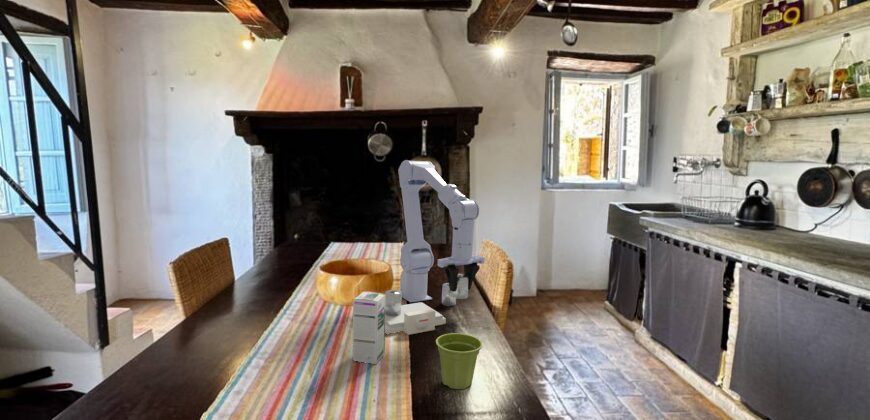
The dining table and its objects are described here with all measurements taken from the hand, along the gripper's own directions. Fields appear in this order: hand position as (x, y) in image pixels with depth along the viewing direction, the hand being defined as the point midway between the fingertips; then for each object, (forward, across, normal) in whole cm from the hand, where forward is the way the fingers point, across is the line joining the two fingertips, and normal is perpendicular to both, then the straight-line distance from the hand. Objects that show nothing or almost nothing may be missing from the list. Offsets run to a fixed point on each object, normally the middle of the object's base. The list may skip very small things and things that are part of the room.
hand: (459, 289), depth 127 cm
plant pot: (+9, -20, -31) cm, 38 cm away
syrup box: (+9, -32, -13) cm, 36 cm away
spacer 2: (+8, +4, +12) cm, 15 cm away
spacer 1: (+6, -19, +4) cm, 20 cm away
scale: (+8, -15, +2) cm, 17 cm away
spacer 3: (+2, 0, 0) cm, 2 cm away
